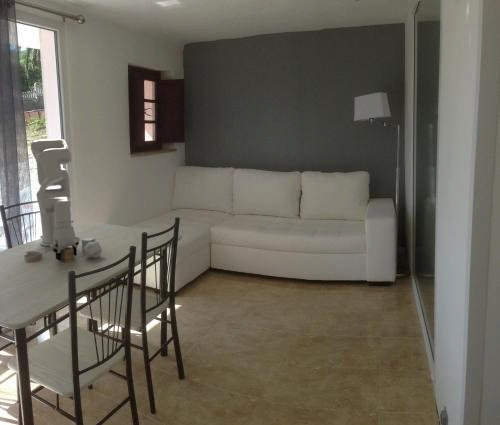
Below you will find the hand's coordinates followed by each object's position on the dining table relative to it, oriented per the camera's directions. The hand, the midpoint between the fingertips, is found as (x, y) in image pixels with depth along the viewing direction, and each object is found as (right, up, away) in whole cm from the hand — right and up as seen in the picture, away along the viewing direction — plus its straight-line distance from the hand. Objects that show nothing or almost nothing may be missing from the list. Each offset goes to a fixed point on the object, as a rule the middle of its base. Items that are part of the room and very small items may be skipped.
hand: (66, 257), depth 242 cm
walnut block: (0, -1, 0) cm, 1 cm away
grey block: (+5, +2, +18) cm, 19 cm away
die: (+12, 0, +4) cm, 13 cm away
